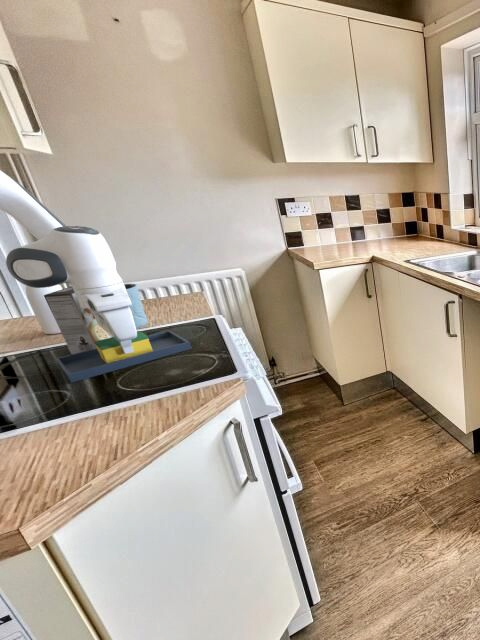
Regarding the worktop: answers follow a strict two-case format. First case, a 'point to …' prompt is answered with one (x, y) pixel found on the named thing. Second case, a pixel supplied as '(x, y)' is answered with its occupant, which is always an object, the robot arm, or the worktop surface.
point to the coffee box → (75, 321)
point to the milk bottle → (43, 308)
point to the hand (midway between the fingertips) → (124, 349)
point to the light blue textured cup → (136, 305)
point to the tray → (94, 365)
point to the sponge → (113, 351)
